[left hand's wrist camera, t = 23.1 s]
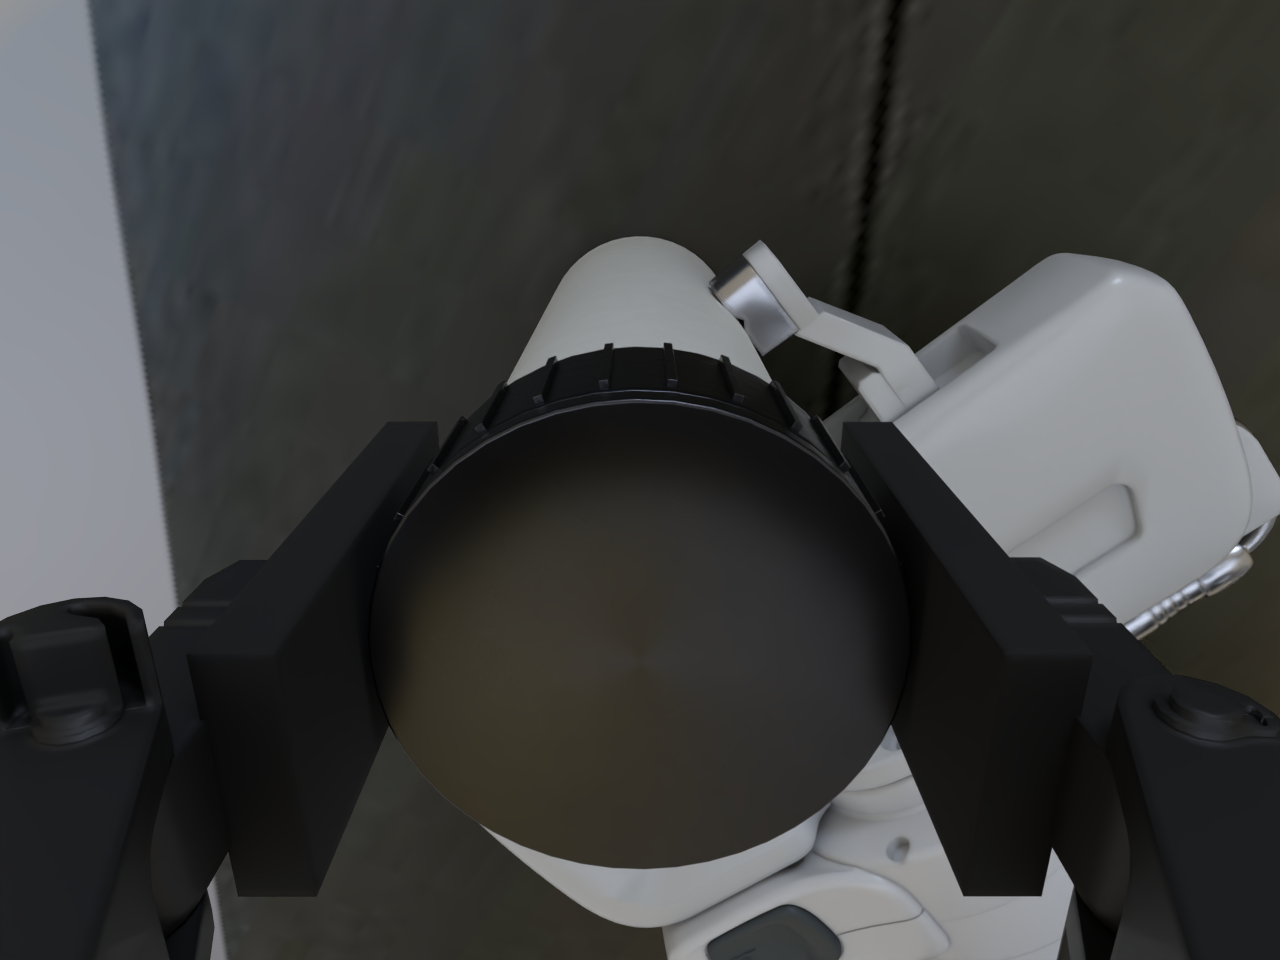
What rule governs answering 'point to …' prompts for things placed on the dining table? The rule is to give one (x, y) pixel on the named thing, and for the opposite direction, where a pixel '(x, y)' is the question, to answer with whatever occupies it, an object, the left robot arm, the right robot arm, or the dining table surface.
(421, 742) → the lid
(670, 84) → the dining table surface
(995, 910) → the right robot arm
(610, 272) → the jar
